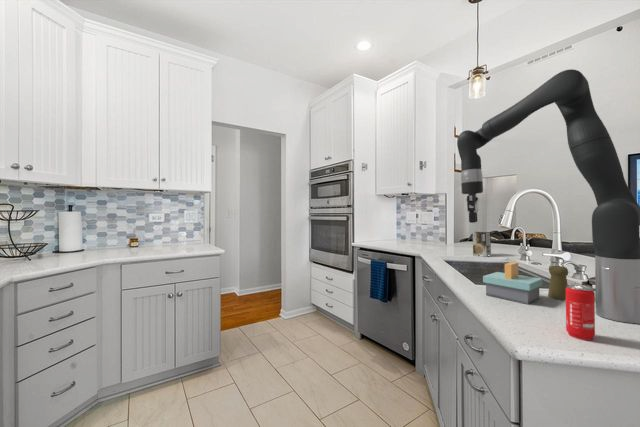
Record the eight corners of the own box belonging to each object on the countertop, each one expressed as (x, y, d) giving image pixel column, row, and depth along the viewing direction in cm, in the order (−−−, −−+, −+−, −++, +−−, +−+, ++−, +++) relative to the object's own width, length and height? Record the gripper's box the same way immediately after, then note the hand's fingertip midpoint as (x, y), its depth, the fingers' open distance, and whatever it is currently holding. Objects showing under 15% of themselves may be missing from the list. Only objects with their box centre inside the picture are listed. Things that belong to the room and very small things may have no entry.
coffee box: (491, 256, 188) (491, 231, 188) (486, 257, 184) (486, 232, 184) (477, 254, 196) (477, 231, 195) (472, 255, 192) (472, 231, 192)
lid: (542, 285, 98) (542, 264, 98) (529, 290, 91) (529, 268, 91) (497, 277, 109) (496, 259, 109) (483, 282, 103) (482, 262, 103)
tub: (539, 298, 98) (539, 281, 98) (528, 304, 92) (527, 286, 92) (498, 290, 108) (498, 274, 108) (486, 295, 103) (485, 278, 103)
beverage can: (572, 339, 67) (571, 289, 67) (562, 330, 72) (561, 283, 72) (600, 342, 65) (599, 291, 65) (588, 333, 70) (587, 285, 70)
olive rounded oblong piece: (574, 300, 95) (574, 268, 95) (554, 299, 97) (553, 267, 97) (563, 295, 101) (562, 264, 101) (544, 294, 103) (543, 264, 102)
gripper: (481, 178, 104) (483, 222, 104) (483, 182, 116) (485, 221, 116) (459, 180, 108) (460, 223, 108) (463, 184, 120) (464, 222, 120)
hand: (473, 222), depth 112 cm, fingers open, 8 cm apart
